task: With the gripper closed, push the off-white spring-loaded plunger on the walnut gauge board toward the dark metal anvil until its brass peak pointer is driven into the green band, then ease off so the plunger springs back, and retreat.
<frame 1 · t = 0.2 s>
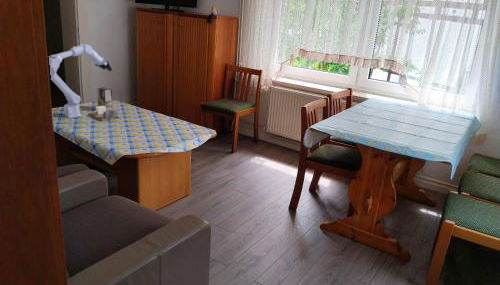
hand: (108, 69, 286), 31 cm above the table, tool tilted 45°, fingers open, 7 cm apart
coffee box: (105, 109, 297), on the table
gauge plunger: (99, 110, 277), point 4 cm above the table, slide at 0.0 cm
peak pointer: (96, 113, 274), point 3 cm above the table, slide at 0.0 cm
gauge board: (103, 116, 278), on the table
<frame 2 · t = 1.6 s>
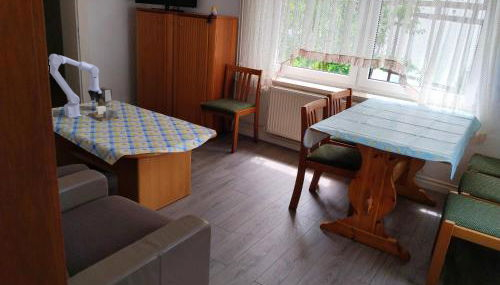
hand: (95, 101, 281), 9 cm above the table, tool pointing down, fingers open, 5 cm apart
nothing on the table moved.
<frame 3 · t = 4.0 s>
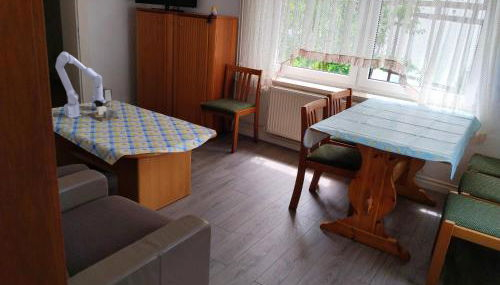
hand: (99, 110, 280), 3 cm above the table, tool pointing down, fingers closed
gauge plunger: (99, 110, 277), point 4 cm above the table, slide at 0.9 cm, touching gripper, peak pointer
peak pointer: (96, 113, 274), point 3 cm above the table, slide at 0.6 cm, touching gauge plunger
everything else where it was.
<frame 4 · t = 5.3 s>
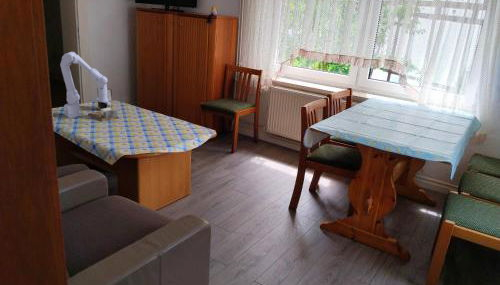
hand: (103, 112, 277), 3 cm above the table, tool pointing down, fingers closed
gauge plunger: (104, 112, 274), point 4 cm above the table, slide at 6.5 cm, touching gripper, peak pointer
peak pointer: (100, 115, 270), point 3 cm above the table, slide at 6.2 cm, touching gauge plunger
everything else where it was.
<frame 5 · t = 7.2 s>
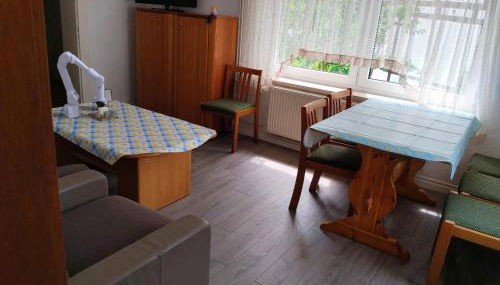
hand: (100, 111, 279), 3 cm above the table, tool pointing down, fingers closed
gauge plunger: (101, 111, 276), point 4 cm above the table, slide at 3.1 cm, touching gripper
peak pointer: (100, 115, 270), point 3 cm above the table, slide at 6.2 cm
everything else where it was.
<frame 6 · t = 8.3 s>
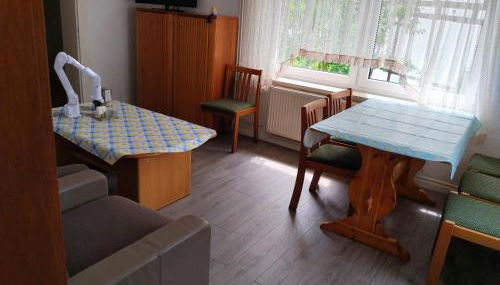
hand: (97, 110, 281), 3 cm above the table, tool pointing down, fingers closed
gauge plunger: (99, 110, 277), point 4 cm above the table, slide at 0.7 cm
everything else where it was.
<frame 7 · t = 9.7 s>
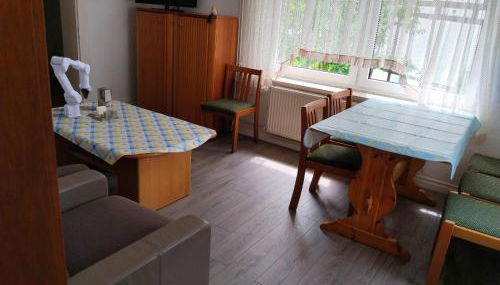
hand: (85, 98, 285), 9 cm above the table, tool pointing down, fingers closed
nothing on the table moved.
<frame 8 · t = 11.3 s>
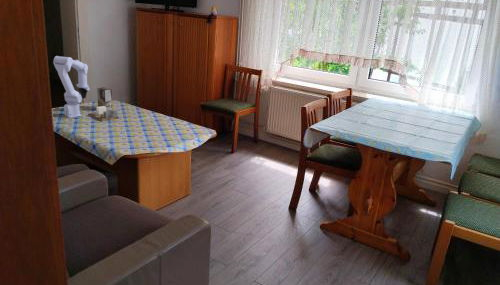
hand: (83, 98, 286), 9 cm above the table, tool pointing down, fingers closed
nothing on the table moved.
at the end: peak pointer slide at 6.2 cm; gauge plunger slide at 0.7 cm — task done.
